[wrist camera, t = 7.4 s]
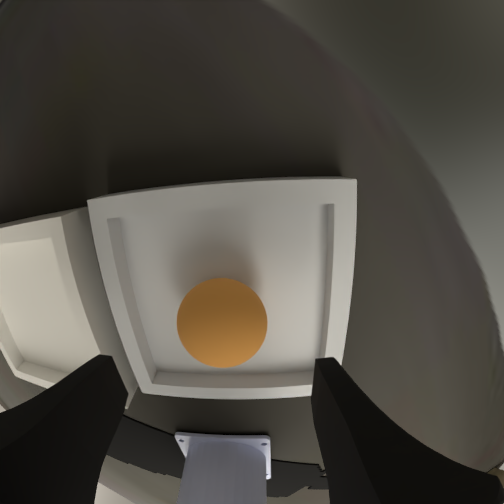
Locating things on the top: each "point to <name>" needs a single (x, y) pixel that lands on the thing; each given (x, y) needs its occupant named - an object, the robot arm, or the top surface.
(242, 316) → the ball
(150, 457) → the black flat plate
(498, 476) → the planter bowl
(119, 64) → the top surface
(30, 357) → the dish
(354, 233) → the tray
